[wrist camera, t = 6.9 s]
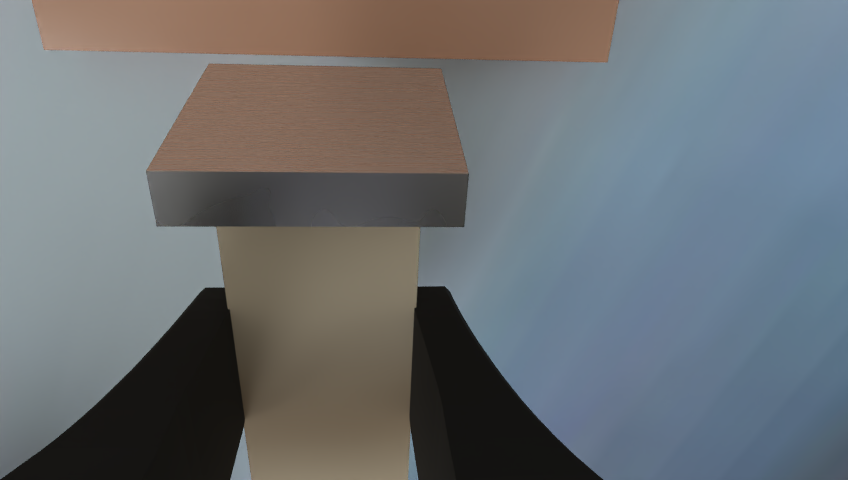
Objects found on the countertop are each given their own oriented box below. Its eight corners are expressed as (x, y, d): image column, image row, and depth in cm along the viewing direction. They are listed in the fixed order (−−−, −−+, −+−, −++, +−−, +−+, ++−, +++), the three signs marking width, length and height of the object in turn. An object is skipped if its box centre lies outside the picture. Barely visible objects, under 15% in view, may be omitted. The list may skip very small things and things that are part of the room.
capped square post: (417, 472, 18) (428, 627, 15) (261, 476, 18) (236, 636, 14) (441, 68, 12) (468, 174, 9) (208, 63, 12) (146, 171, 8)
